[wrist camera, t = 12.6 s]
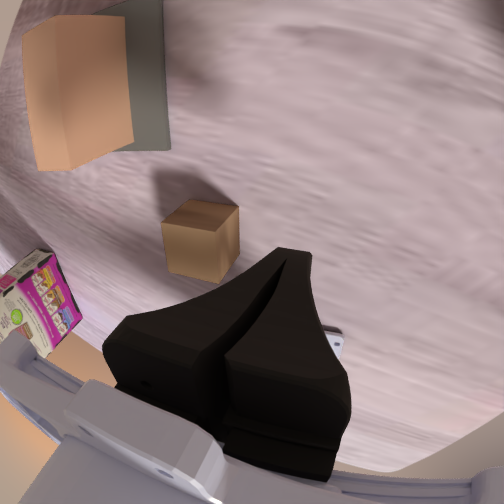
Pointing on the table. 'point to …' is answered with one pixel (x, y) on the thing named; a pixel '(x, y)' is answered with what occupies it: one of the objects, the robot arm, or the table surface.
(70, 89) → the block
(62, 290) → the candy bar box
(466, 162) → the table surface
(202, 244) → the brown cube
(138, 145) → the mat
